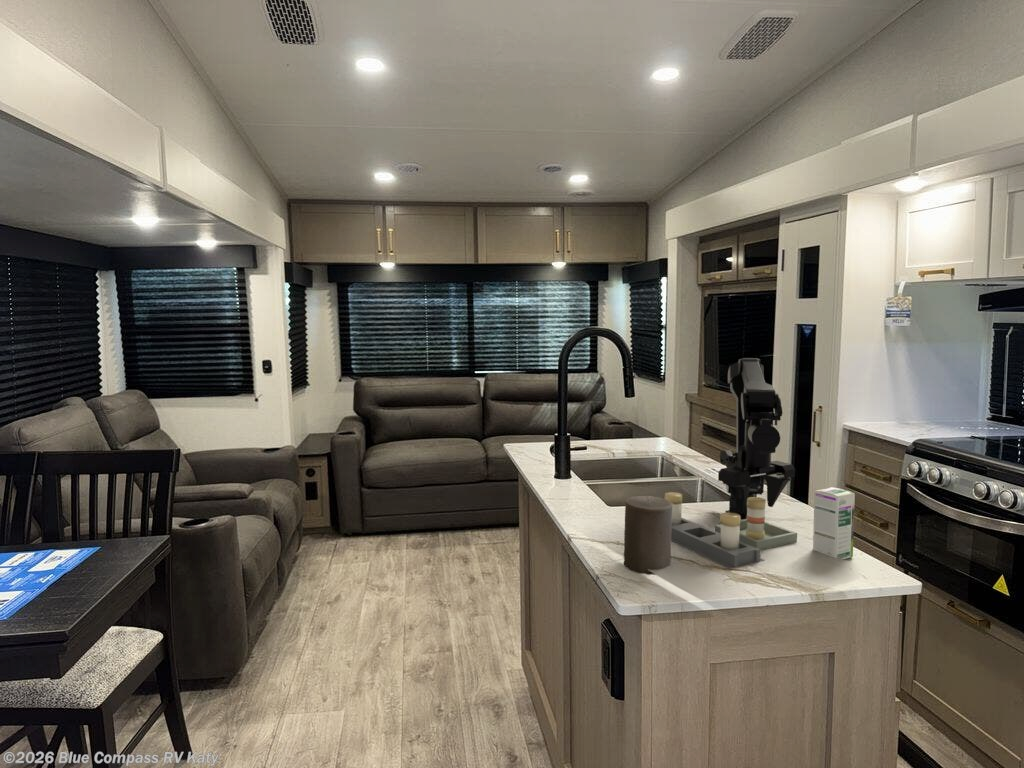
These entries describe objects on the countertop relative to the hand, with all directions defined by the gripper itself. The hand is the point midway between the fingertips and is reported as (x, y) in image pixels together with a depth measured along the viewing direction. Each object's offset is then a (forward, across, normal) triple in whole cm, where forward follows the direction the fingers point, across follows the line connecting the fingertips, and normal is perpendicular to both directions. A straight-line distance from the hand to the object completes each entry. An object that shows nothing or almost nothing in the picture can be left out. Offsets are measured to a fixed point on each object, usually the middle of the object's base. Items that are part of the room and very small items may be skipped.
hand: (755, 509), depth 144 cm
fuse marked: (+7, 0, 0) cm, 7 cm away
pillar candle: (+8, +31, 0) cm, 32 cm away
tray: (+8, 0, 0) cm, 8 cm away
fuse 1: (+7, +14, -12) cm, 20 cm away
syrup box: (+8, -8, +14) cm, 18 cm away
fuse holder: (+8, +14, -3) cm, 16 cm away
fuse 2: (+7, +14, +6) cm, 17 cm away
